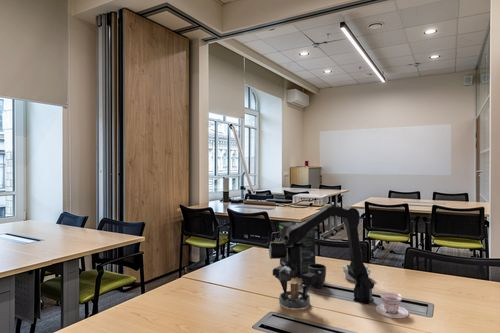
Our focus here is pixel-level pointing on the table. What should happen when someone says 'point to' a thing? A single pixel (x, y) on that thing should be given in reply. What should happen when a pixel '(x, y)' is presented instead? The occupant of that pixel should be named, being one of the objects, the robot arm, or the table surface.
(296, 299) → the tin
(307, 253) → the headset box
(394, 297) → the teacup
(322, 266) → the mug
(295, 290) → the tan wooden plank
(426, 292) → the table surface
